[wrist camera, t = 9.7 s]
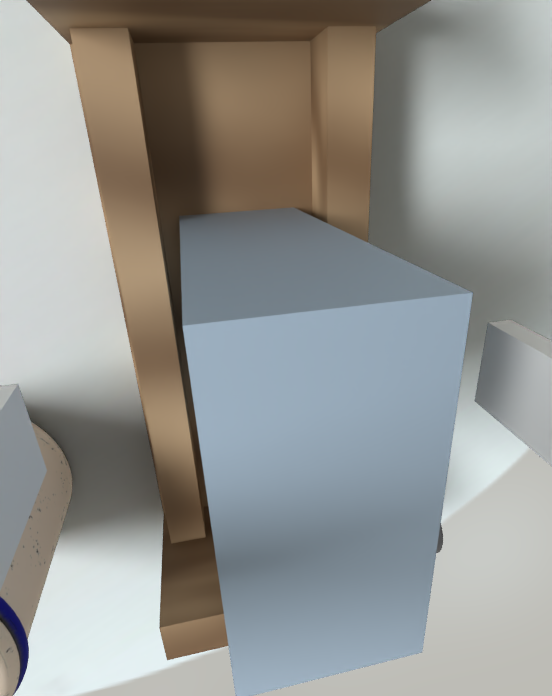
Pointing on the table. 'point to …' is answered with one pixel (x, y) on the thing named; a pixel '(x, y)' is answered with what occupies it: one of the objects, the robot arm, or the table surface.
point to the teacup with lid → (32, 564)
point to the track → (212, 193)
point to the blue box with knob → (319, 437)
